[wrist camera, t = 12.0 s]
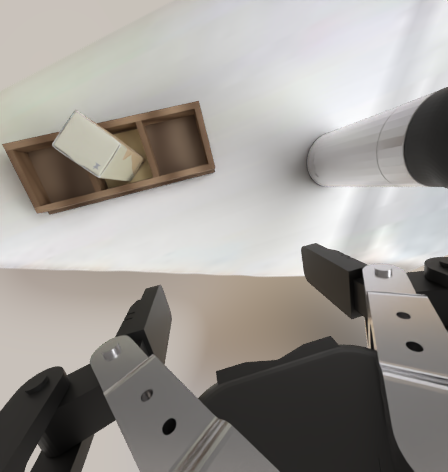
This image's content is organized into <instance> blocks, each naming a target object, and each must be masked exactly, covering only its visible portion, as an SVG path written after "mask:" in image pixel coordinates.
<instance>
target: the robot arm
mask: <svg viewBox="0 0 448 472" xmlns="http://www.w3.org/2000/svg"><path fill="white" fill-rule="evenodd" d="M307 167H308V172H309V174H310V176H311V178H312V179H313V180H314V181H315V182H316V183H317V184H319V185H321V186H326V187H445V188H448V87H446V88H444V89H441V90H439V91H437V92H434V93H431V94H429V95H426V96H424V97H421V98H418V99H416V100H413V101H410V102H408V103H405V104H403V105H400V106H398V107H395V108H393V109H390V110H387V111H385V112H382V113H379V114H377V115H374V116H371V117H369V118H366V119H364V120H361V121H358V122H356V123H353V124H350V125H348V126H345V127H342V128H340V129H337V130H334V131H332V132H329V133H327V134H324V135H322V136H321V137H319V138H318V139H317V140H316V141H315V142H314V143H313V145H312V147H311V148H310V151H309V154H308V158H307ZM301 253H302V261H303V269H304V274H305V277H306V279H307V281H308V282H309V283H310V284H311V285H312V286H314V287H315V288H316V289H317V290H318V291H319V292H321V293H322V294H323V295H324V296H325V297H326V298H327V299H329V300H330V301H331V302H332V303H333V304H334V305H336V306H337V307H338V308H339V309H340V310H341V311H343V312H344V313H345V314H346V315H347V316H348V317H350V318H351V319H354V318H357V317H360V316H364V317H365V330H366V338H367V347H368V348H366V347H361V346H355V345H338V344H337V343H336V342H335V340H334V339H333V338H332V337H331V336H329V337H325V338H322V339H319V340H316V341H313V342H310V343H306V344H303V345H302V346H300V347H298V348H297V349H295V350H293V351H292V352H290V353H289V354H287V355H285V356H284V357H282V358H280V359H278V360H271V361H257V362H245V363H242V364H238V365H235V366H232V367H229V368H225V369H222V370H219V371H216V375H217V383H216V384H214V385H213V386H211V387H210V388H209V389H208V390H206V391H205V392H204V393H203V394H202V395H201V396H200V397H199V398H197V397H196V396H195V395H194V394H193V393H192V392H191V391H190V390H189V389H188V388H187V387H186V386H185V385H184V384H183V383H182V382H181V381H180V380H179V379H178V378H177V377H176V376H175V375H174V374H173V373H172V372H171V371H170V370H169V369H168V368H167V367H166V366H165V365H164V364H165V358H166V352H167V345H168V340H169V333H170V327H171V321H172V318H171V312H170V308H169V305H168V303H167V300H166V297H165V294H164V291H163V288H162V286H161V285H158V286H154V287H150V288H147V289H145V291H144V294H143V296H142V298H141V300H138V301H136V302H135V303H134V304H133V305H132V306H131V307H130V309H129V311H128V313H127V315H126V317H125V319H124V321H123V323H122V325H121V327H120V329H119V331H118V332H117V335H116V336H115V338H112V339H110V340H109V341H107V342H105V343H104V344H102V345H101V346H100V347H99V348H98V349H97V350H96V351H95V352H94V353H93V355H92V356H91V359H90V364H88V365H86V366H84V367H83V368H80V369H79V370H76V371H75V372H73V373H71V374H69V375H66V373H65V371H64V369H63V368H62V367H52V368H49V369H47V370H45V371H43V372H41V373H39V374H37V375H36V376H34V377H33V378H31V379H30V380H28V381H27V382H26V383H25V384H24V385H23V386H21V387H20V388H19V389H18V390H17V391H16V393H15V394H14V395H13V396H12V398H11V399H10V400H9V401H8V402H7V404H6V405H5V406H4V408H3V409H2V410H1V411H0V472H24V471H25V467H26V464H27V462H28V460H29V458H30V456H31V454H32V453H33V451H34V449H35V447H36V445H37V444H38V445H39V446H40V448H41V450H42V451H41V453H40V455H39V456H38V459H37V460H36V462H35V464H34V466H33V468H32V470H31V471H30V472H81V471H82V468H83V465H84V462H85V459H86V457H87V454H88V451H89V448H90V445H91V442H92V439H93V436H94V433H96V432H98V431H99V430H101V429H102V428H104V427H106V426H107V425H109V424H110V423H112V422H113V421H115V420H116V421H117V423H118V426H119V428H120V430H121V432H122V434H123V436H124V438H125V440H126V443H127V445H128V447H129V449H130V451H131V453H132V455H133V458H134V460H135V462H136V464H137V466H138V468H139V470H140V472H448V257H436V258H430V259H428V260H426V261H425V265H424V266H425V267H424V271H419V272H408V273H406V272H405V270H403V269H402V268H400V267H398V266H395V265H391V264H381V263H378V264H370V265H367V264H365V263H362V262H360V261H358V260H356V259H354V258H351V257H350V256H347V255H344V254H343V253H341V252H339V251H336V250H331V249H327V248H325V247H323V246H321V245H319V244H317V243H314V244H311V245H307V246H303V247H302V249H301Z"/></svg>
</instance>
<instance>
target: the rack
mask: <svg viewBox="0 0 448 472" xmlns="http://www.w3.org/2000/svg"><path fill="white" fill-rule="evenodd" d="M97 124H98V125H99V126H101V127H102V128H104V129H105V130H107V131H108V132H110V133H111V134H113V135H114V136H116V137H117V138H118V139H120V140H121V141H122V142H124V143H125V144H126V145H128V146H129V147H130V148H132V149H133V150H134V151H136V152H137V153H138V154H139V155H141V156H142V157H143V158H145V161H144V163H143V165H142V166H141V168H140V169H139V171H138V172H137V173H136V175H135V176H134V178H133V179H132V180H131V181H121V180H113V179H104V178H98V177H96V176H95V175H93V174H92V173H90V172H89V171H87V170H86V169H84V168H83V167H81V166H80V165H78V164H77V163H75V162H74V161H72V160H71V159H69V158H68V157H67V156H65V155H64V154H62V153H61V152H59V151H58V150H57V149H55V148H54V147H53V146H52V143H53V142H54V140H55V139H56V137H57V136H58V134H59V133H60V132H56V133H51V134H47V135H42V136H38V137H33V138H29V139H24V140H20V141H15V142H11V143H6V144H2V145H3V147H4V149H5V151H6V153H7V155H8V157H9V159H10V161H11V163H12V165H13V167H14V169H15V171H16V173H17V174H18V176H19V178H20V180H21V182H22V184H23V186H24V188H25V190H26V192H27V194H28V196H29V198H30V200H31V202H32V204H33V206H34V208H35V210H36V212H37V213H42V212H48V213H49V214H54V213H58V212H62V211H66V210H69V209H73V208H77V207H81V206H85V205H89V204H93V203H97V202H101V201H104V200H108V199H112V198H116V197H120V196H124V195H128V194H132V193H136V192H140V191H143V190H147V189H151V188H155V187H159V186H163V185H167V184H171V183H175V182H178V181H182V180H186V179H190V178H194V177H198V176H202V175H206V174H210V173H214V172H215V170H214V169H215V165H214V161H213V157H212V153H211V149H210V145H209V141H208V137H207V133H206V129H205V125H204V121H203V117H202V113H201V109H200V105H199V101H196V102H192V103H187V104H183V105H178V106H174V107H169V108H165V109H160V110H156V111H151V112H146V113H142V114H137V115H133V116H128V117H124V118H119V119H115V120H110V121H106V122H101V123H97Z"/></svg>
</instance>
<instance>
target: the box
mask: <svg viewBox="0 0 448 472" xmlns="http://www.w3.org/2000/svg"><path fill="white" fill-rule="evenodd" d="M52 146H53V147H54V148H55V149H57V150H58V151H59V152H61V153H62V154H64V155H65V156H67V157H68V158H69V159H71V160H72V161H74V162H75V163H77V164H78V165H80V166H81V167H83V168H84V169H86V170H87V171H89V172H90V173H92V174H93V175H95V176H96V177H98V178H104V179H113V180H121V181H131V180H132V179H133V178H134V176H135V175H136V173H137V172H138V171H139V169H140V168H141V166H142V165H143V163H144V161H145V158H143V157H142V156H141V155H139V154H138V153H137V152H136V151H134V150H133V149H132V148H130V147H129V146H128V145H126V144H125V143H124V142H122V141H121V140H120V139H118V138H117V137H116V136H114V135H113V134H111V133H110V132H108V131H107V130H105V129H104V128H102V127H101V126H99V125H98V124H96V123H95V122H93V121H92V120H90V119H89V118H87V117H86V116H84V115H83V114H81V113H80V112H78V111H77V110H75V111H74V112H73V114H72V115H71V117H70V118H69V120H68V121H67V122H66V124H65V125H64V127H63V128H62V130H61V131H60V133H59V134H58V136H57V137H56V139H55V140H54V142H53V143H52Z"/></svg>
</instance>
